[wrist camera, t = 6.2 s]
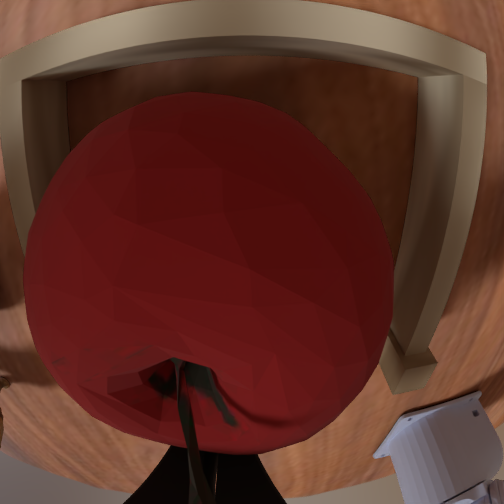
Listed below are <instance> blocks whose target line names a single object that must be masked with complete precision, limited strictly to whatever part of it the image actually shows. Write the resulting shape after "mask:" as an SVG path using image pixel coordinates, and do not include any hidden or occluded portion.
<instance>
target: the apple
mask: <svg viewBox="0 0 504 504" xmlns="http://www.w3.org/2000/svg"><path fill="white" fill-rule="evenodd" d="M23 285H24V296H25V305H26V313H27V320H28V324H29V328H30V331H31V334H32V338H33V341H34V344H35V347H36V349H37V351H38V353H39V355H40V357H41V359H42V361H43V363H44V365H45V366H46V368H47V369H48V371H49V372H50V373H51V375H52V376H53V377H54V379H55V380H56V382H57V383H58V384H59V386H60V387H61V388H62V389H63V390H64V391H65V392H66V393H67V394H68V395H69V396H70V397H71V398H72V399H73V400H75V401H76V402H77V403H78V404H79V405H80V406H81V407H82V408H83V409H84V410H85V411H87V412H88V413H89V414H90V415H91V416H92V417H94V418H96V419H98V420H100V421H102V422H104V423H106V424H108V425H110V426H112V427H114V428H116V429H118V430H120V431H122V432H124V433H128V434H131V435H134V436H138V437H141V438H145V439H148V440H152V441H156V442H160V443H164V444H168V445H172V446H178V447H183V448H187V450H188V461H189V473H190V487H189V504H217V503H216V501H215V499H214V497H213V494H212V492H211V489H210V487H209V485H208V482H207V480H206V477H205V475H204V472H203V470H202V465H201V459H200V454H199V450H201V451H207V452H215V453H223V454H232V455H248V454H262V453H266V452H269V451H273V450H276V449H280V448H283V447H286V446H290V445H293V444H296V443H299V442H302V441H305V440H307V439H309V438H310V437H312V436H313V435H315V434H316V433H317V432H319V431H320V430H322V429H323V428H325V427H326V426H327V425H329V424H330V423H331V422H333V421H334V420H335V419H336V418H337V417H338V416H339V415H340V414H341V413H342V412H343V411H344V409H345V408H346V407H347V406H348V405H349V404H350V403H351V402H352V401H353V400H354V399H355V397H356V396H357V395H358V394H359V393H360V392H361V391H362V389H363V388H364V386H365V385H366V383H367V381H368V380H369V378H370V377H371V375H372V373H373V372H374V370H375V368H376V367H377V365H378V363H379V360H380V358H381V354H382V351H383V348H384V345H385V342H386V339H387V336H388V332H389V329H390V325H391V322H392V319H393V299H394V261H393V256H392V252H391V248H390V245H389V242H388V239H387V236H386V233H385V230H384V227H383V224H382V221H381V219H380V217H379V215H378V213H377V211H376V208H375V206H374V204H373V202H372V200H371V198H370V197H369V196H368V194H367V193H366V192H365V190H364V189H363V187H362V186H361V185H360V184H359V182H358V181H357V180H356V178H355V177H354V176H353V174H352V173H351V172H350V171H349V170H348V169H347V168H346V167H345V166H344V165H343V164H342V163H341V161H340V160H339V159H338V158H337V157H336V156H335V155H334V154H333V153H332V152H331V151H330V150H329V149H328V148H327V147H326V146H325V145H324V144H323V143H322V142H321V141H319V140H318V139H317V138H316V137H315V136H314V135H313V134H312V133H311V132H310V131H309V130H308V129H307V128H306V127H305V126H304V125H303V124H301V123H300V122H298V121H297V120H296V119H294V118H293V117H291V116H290V115H288V114H287V113H285V112H283V111H280V110H278V109H275V108H273V107H271V106H268V105H266V104H263V103H261V102H258V101H254V100H249V99H244V98H239V97H234V96H229V95H222V94H213V93H203V92H184V93H177V94H171V95H164V96H158V97H154V98H152V99H150V100H147V101H145V102H143V103H140V104H138V105H136V106H134V107H131V108H129V109H127V110H125V111H123V112H121V113H119V114H117V115H115V116H113V117H111V118H109V119H107V120H105V121H103V122H102V123H101V124H99V125H98V126H97V127H95V128H94V129H93V130H92V131H90V132H89V133H88V134H87V135H86V136H85V137H84V138H83V139H82V140H81V141H80V142H79V143H78V144H77V146H76V147H75V148H74V149H73V150H72V151H71V152H70V153H69V154H68V155H67V156H66V158H65V159H64V161H63V162H62V164H61V165H60V167H59V169H58V170H57V172H56V173H55V175H54V176H53V178H52V180H51V181H50V183H49V185H48V187H47V189H46V191H45V193H44V195H43V198H42V200H41V202H40V204H39V207H38V209H37V212H36V214H35V217H34V219H33V222H32V224H31V227H30V230H29V232H28V238H27V245H26V253H25V262H24V273H23Z"/></svg>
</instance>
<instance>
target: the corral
mask: <svg viewBox="0 0 504 504" xmlns="http://www.w3.org/2000/svg"><path fill="white" fill-rule="evenodd" d="M238 55H261V56H288V57H302V58H314V59H323V60H332V61H340V62H347V63H353V64H359V65H365V66H371V67H376V68H381V69H386V70H390V71H395V72H399V73H403V74H407V75H411V76H415V77H418V110H417V128H416V141H415V152H414V162H413V170H412V178H411V186H410V193H409V199H408V205H407V211H406V217H405V223H404V228H403V233H402V238H401V243H400V248H399V252H398V257H397V261H396V266H395V270H394V299H393V319H392V322H391V325H390V329H389V332H388V336H387V339H386V342H385V345H384V348H383V351H382V354H381V358H380V360H379V364H380V367H381V369H382V371H383V374H384V376H385V378H386V381H387V383H388V385H389V388H390V390H391V392H392V395H395V394H400V393H404V392H409V391H413V390H417V389H422V388H424V387H425V385H426V383H427V381H428V380H429V378H430V376H431V374H432V372H433V371H434V369H435V367H436V365H437V363H438V362H437V361H436V359H435V357H434V356H433V354H432V352H431V351H430V349H429V348H428V346H429V344H430V342H431V339H432V337H433V335H434V333H435V330H436V328H437V325H438V323H439V321H440V318H441V316H442V313H443V311H444V308H445V305H446V303H447V300H448V297H449V295H450V292H451V289H452V286H453V283H454V280H455V277H456V274H457V271H458V268H459V265H460V261H461V258H462V255H463V251H464V248H465V244H466V240H467V237H468V233H469V229H470V224H471V220H472V216H473V211H474V207H475V202H476V196H477V191H478V185H479V179H480V173H481V166H482V159H483V150H484V140H485V128H486V110H487V68H486V54H485V53H483V52H481V51H479V50H477V49H475V48H473V47H471V46H469V45H467V44H464V43H462V42H460V41H458V40H455V39H453V38H450V37H448V36H446V35H443V34H440V33H438V32H435V31H433V30H430V29H427V28H424V27H421V26H418V25H415V24H412V23H409V22H406V21H403V20H399V19H396V18H392V17H388V16H385V15H381V14H377V13H373V12H368V11H364V10H359V9H354V8H349V7H344V6H338V5H332V4H325V3H318V2H309V1H300V0H195V1H185V2H177V3H170V4H163V5H157V6H151V7H146V8H141V9H136V10H131V11H127V12H122V13H118V14H114V15H110V16H107V17H103V18H100V19H96V20H93V21H89V22H86V23H83V24H80V25H77V26H74V27H71V28H68V29H66V30H63V31H60V32H58V33H55V34H52V35H50V36H47V37H45V38H43V39H40V40H38V41H36V42H33V43H31V44H29V45H27V46H25V47H22V48H20V49H18V50H16V51H14V52H12V53H10V54H8V55H6V56H5V57H3V58H1V59H0V135H1V146H2V155H3V163H4V170H5V176H6V182H7V188H8V193H9V199H10V203H11V208H12V213H13V217H14V221H15V225H16V229H17V233H18V237H19V240H20V244H21V247H22V251H23V254H24V257H25V253H26V245H27V238H28V232H29V230H30V227H31V224H32V222H33V219H34V217H35V214H36V212H37V209H38V207H39V204H40V202H41V200H42V198H43V195H44V193H45V191H46V189H47V187H48V185H49V183H50V181H51V180H52V178H53V176H54V175H55V173H56V172H57V170H58V169H59V167H60V165H61V164H62V162H63V161H64V159H65V158H66V156H67V155H68V154H69V153H70V144H69V133H68V118H67V93H66V81H69V80H73V79H76V78H80V77H83V76H87V75H91V74H95V73H100V72H104V71H108V70H113V69H118V68H123V67H128V66H133V65H139V64H145V63H152V62H159V61H167V60H175V59H185V58H196V57H211V56H238Z"/></svg>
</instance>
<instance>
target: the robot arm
mask: <svg viewBox="0 0 504 504" xmlns="http://www.w3.org/2000/svg"><path fill="white" fill-rule="evenodd" d="M481 395H482V393H481V391H477V392H474V393H472V394H469V395H466V396H464V397H461V398H458V399H455V400H452V401H449V402H446V403H443V404H439V405H436V406H433V407H429V408H426V409H422V410H419V411H415V412H411V413H407V414H404V415H402V416H401V417H400V418H399V419H398V421H397V422H396V424H395V425H394V427H393V428H392V430H391V431H390V432H389V434H388V435H387V437H386V438H385V440H384V441H383V442H382V444H381V445H380V447H379V448H378V449H377V451H376V452H375V453H374V455H373V457H374V458H375V459H376V458H381V457H385V456H389V455H390V456H391V459H392V462H393V465H394V468H395V472H396V475H397V478H398V482H399V485H400V488H401V491H402V495H403V499H404V502H405V504H504V480H499V479H495V480H494V481H492V480H491V479H492V478H493V477H494V476H495V475H496V474H497V472H498V471H499V469H500V467H501V464H502V461H503V449H502V444H501V441H500V439H499V437H498V435H497V433H496V431H495V429H494V427H493V425H492V423H491V422H490V420H489V418H488V416H487V414H486V412H485V411H484V409H483V407H482V405H481V403H480V402H479V400H478V399H479V398H480V397H481ZM199 454H200V459H201V465H202V470H203V472H204V475H205V477H206V480H207V482H208V485H209V487H210V489H211V492H212V494H213V497H214V499H215V501H216V503H217V504H287V503H286V502H285V500H284V499H283V497H282V496H281V494H280V493H279V492H278V490H277V489H276V487H275V486H274V484H273V482H272V481H271V479H270V477H269V475H268V474H267V472H266V470H265V468H264V466H263V465H262V463H261V461H260V459H259V457H258V454H248V455H232V454H223V453H215V452H207V451H201V450H199ZM216 474H217V480H216ZM215 484H216V493H215ZM189 487H190V473H189V461H188V450H187V448H183V447H178V446H172V445H171V446H170V447H169V449H168V451H167V452H166V454H165V455H164V457H163V458H162V460H161V461H160V462H159V464H158V465H157V466H156V468H155V469H154V470H153V472H152V473H151V474H150V475H149V477H148V478H147V479H146V480H145V481H144V483H143V484H142V485H141V486H140V487H139V488H138V489H137V490H136V491H135V492H134V493H133V494H132V495H131V496H130V498H128V499H127V500H126V501H125V502H124V503H123V504H189Z"/></svg>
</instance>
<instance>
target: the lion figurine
mask: <svg viewBox="0 0 504 504" xmlns="http://www.w3.org/2000/svg"><path fill="white" fill-rule="evenodd" d="M3 387H4V388H6V389H7V388H9V387H10V384H9V382H8V381H7V380H6V379H4V378H2V377H0V391H1V389H2V388H3ZM3 430H4V427H3V415H2V412H1V408H0V448H1V441H2V435H3Z"/></svg>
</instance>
